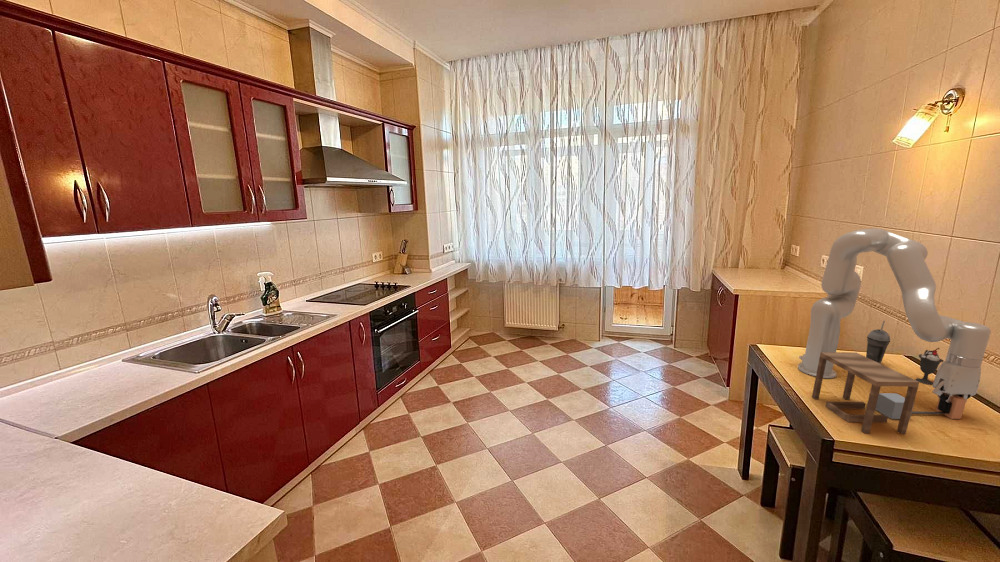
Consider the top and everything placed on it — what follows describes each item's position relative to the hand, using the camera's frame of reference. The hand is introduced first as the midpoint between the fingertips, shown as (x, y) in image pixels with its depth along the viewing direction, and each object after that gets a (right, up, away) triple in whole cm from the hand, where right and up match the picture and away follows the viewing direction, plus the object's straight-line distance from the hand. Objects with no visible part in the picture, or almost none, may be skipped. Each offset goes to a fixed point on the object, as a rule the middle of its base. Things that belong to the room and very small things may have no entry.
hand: (949, 411), depth 133 cm
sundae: (+17, +4, +24) cm, 29 cm away
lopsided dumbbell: (-10, -1, 0) cm, 10 cm away
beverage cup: (+11, +7, +39) cm, 41 cm away
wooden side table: (-30, -1, +1) cm, 31 cm away
